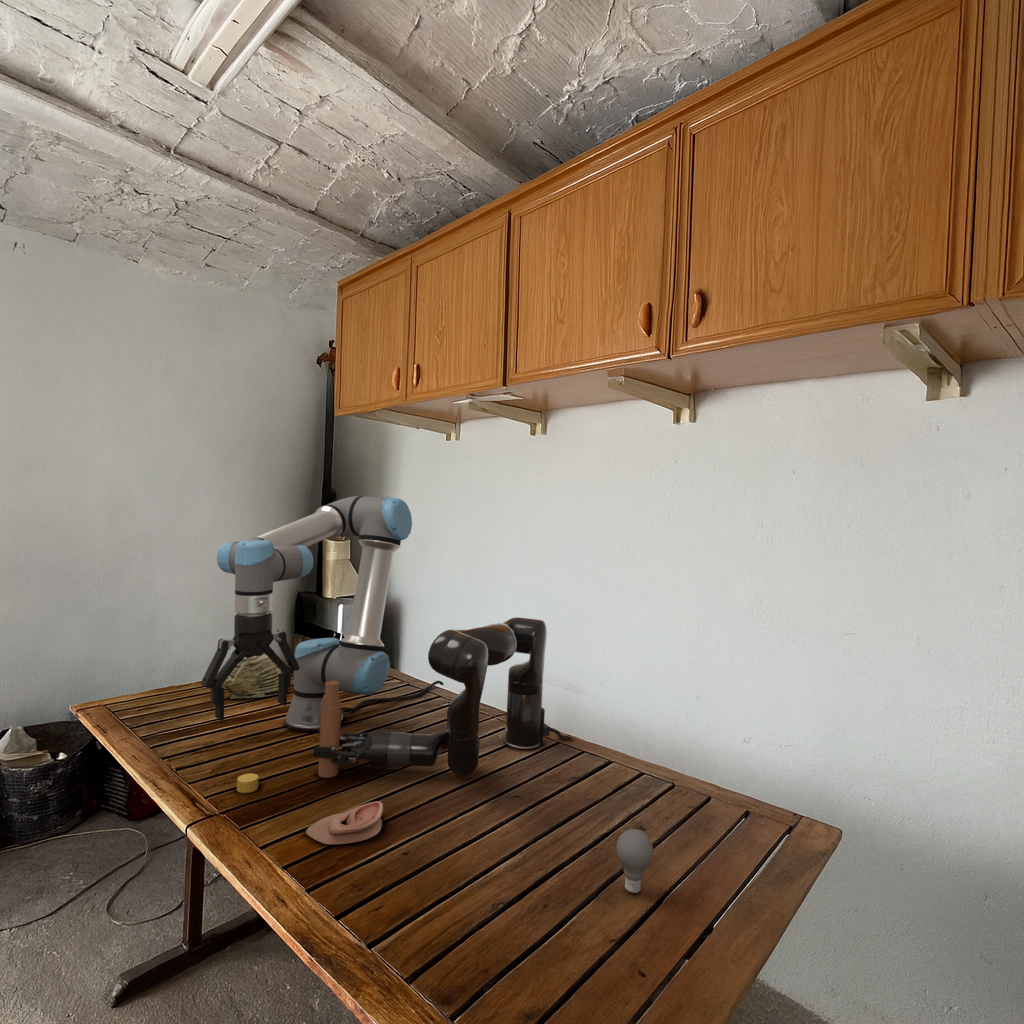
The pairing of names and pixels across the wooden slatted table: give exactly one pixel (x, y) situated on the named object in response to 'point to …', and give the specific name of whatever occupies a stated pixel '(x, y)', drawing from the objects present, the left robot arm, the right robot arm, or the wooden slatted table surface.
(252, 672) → the fossil
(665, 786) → the wooden slatted table surface
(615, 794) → the wooden slatted table surface
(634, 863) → the light bulb
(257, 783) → the cap
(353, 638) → the left robot arm
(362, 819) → the anatomical model
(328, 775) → the bottle
